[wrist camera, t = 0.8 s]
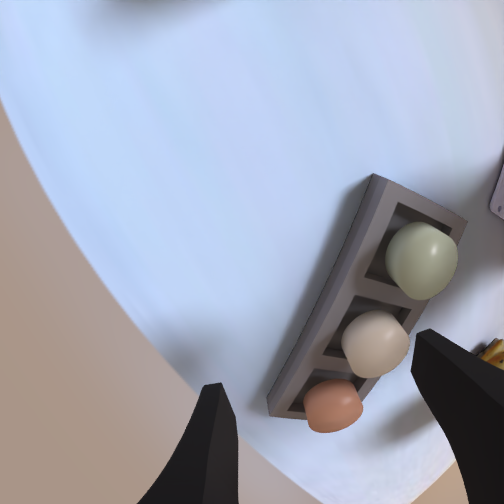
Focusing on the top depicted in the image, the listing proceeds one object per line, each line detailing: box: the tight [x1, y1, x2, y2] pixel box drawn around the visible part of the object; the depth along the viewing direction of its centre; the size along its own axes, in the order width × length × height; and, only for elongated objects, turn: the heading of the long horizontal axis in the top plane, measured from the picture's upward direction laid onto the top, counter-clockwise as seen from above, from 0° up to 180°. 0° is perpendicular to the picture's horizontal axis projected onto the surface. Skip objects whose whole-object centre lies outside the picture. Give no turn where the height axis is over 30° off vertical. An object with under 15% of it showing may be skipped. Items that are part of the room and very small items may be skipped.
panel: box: [267, 173, 468, 420], centre depth 20 cm, size 7×19×2 cm, turn 162°
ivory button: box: [341, 310, 410, 378], centre depth 18 cm, size 4×4×2 cm
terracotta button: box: [303, 379, 363, 433], centre depth 20 cm, size 4×4×2 cm
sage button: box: [385, 222, 458, 300], centre depth 16 cm, size 4×4×2 cm
